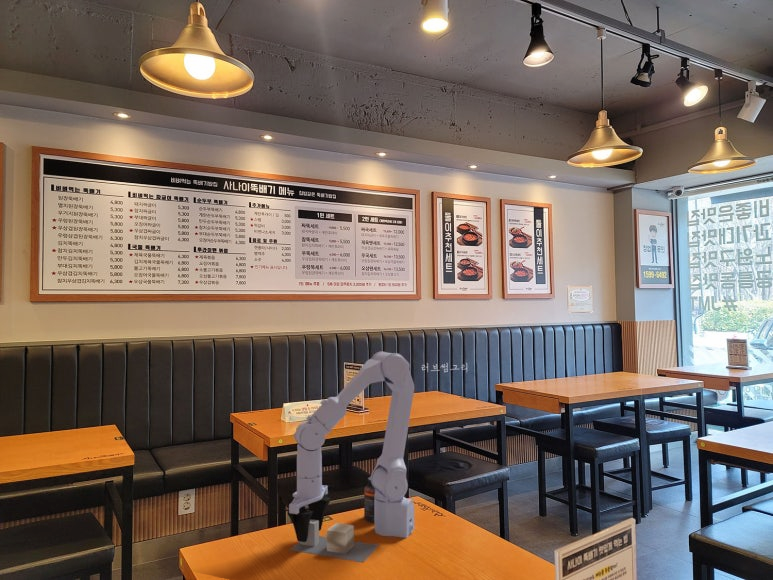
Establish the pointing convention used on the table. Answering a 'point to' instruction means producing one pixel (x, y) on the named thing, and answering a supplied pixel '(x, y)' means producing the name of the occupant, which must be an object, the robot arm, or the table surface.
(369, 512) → the supplement bottle
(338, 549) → the birch block
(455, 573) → the table surface
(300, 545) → the gray plate with post
